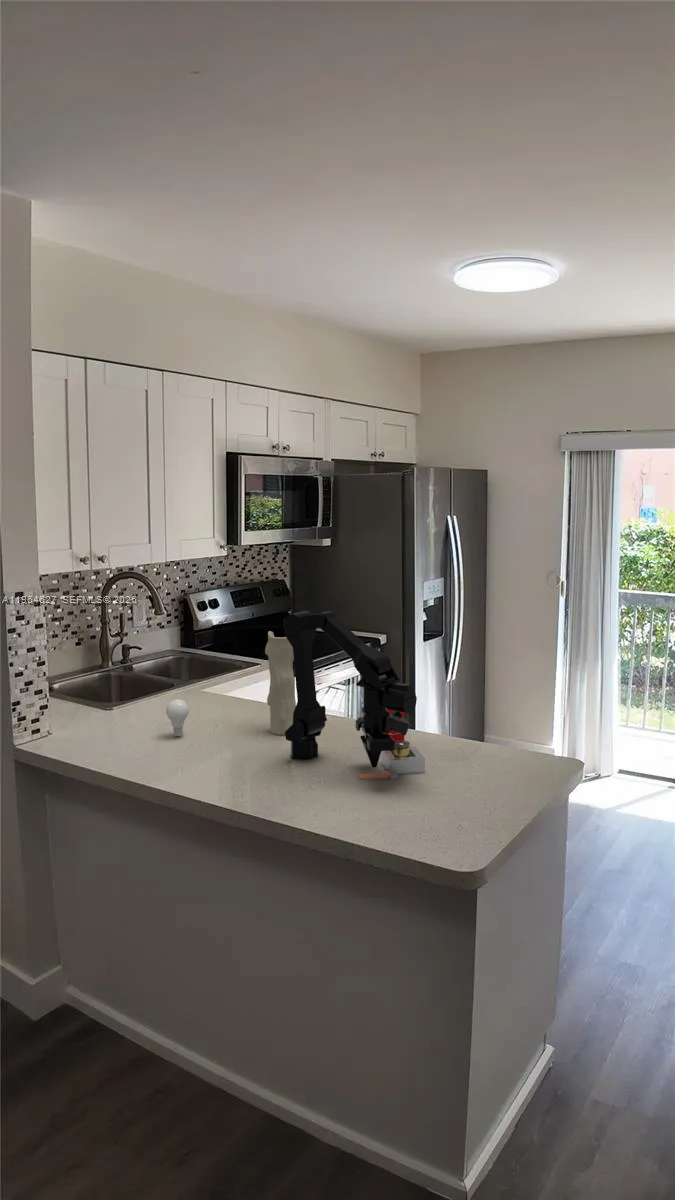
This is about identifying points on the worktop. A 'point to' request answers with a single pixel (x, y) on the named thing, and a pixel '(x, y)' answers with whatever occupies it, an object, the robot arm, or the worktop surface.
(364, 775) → the lever
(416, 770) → the block
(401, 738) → the beverage can
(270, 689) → the vase
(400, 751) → the brass cylinder
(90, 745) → the worktop surface
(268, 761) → the worktop surface
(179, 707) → the lightbulb
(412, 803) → the worktop surface
